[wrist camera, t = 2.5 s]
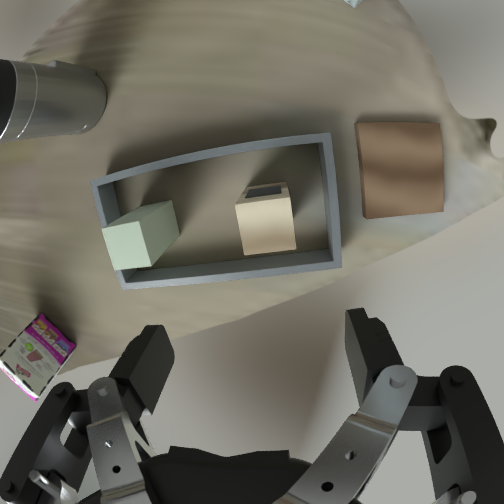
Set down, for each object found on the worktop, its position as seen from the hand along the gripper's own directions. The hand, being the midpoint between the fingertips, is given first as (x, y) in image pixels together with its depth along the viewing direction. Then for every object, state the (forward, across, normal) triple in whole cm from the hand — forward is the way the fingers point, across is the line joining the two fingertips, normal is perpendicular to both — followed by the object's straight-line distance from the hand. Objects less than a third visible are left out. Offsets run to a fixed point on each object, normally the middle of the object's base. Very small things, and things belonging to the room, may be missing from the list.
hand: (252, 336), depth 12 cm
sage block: (+26, +15, 0) cm, 30 cm away
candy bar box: (+26, +49, +20) cm, 59 cm away
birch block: (+26, 0, 0) cm, 26 cm away
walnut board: (+26, -18, -3) cm, 31 cm away
